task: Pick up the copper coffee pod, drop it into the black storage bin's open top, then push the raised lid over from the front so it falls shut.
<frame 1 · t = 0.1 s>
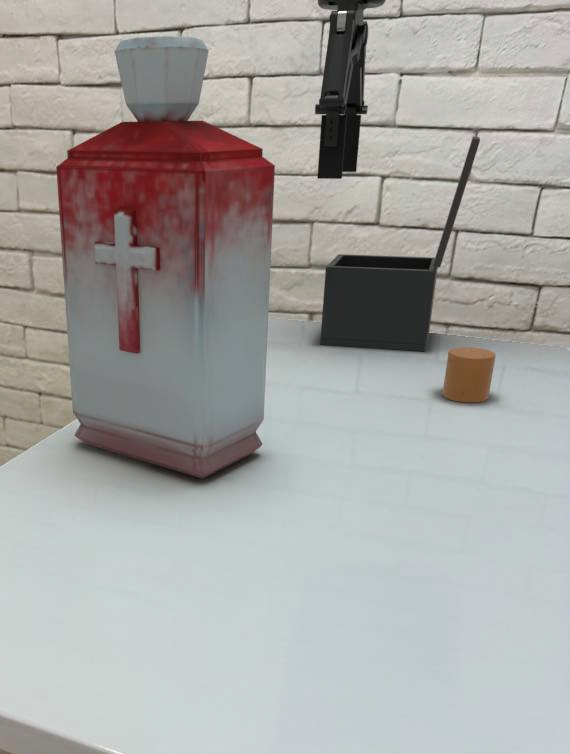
hand: (337, 175, 100), 19 cm above the table, tool pointing down, fingers open, 13 cm apart
bottle: (166, 451, 70), on the table
black storage bin: (375, 338, 104), on the table
lid: (456, 201, 95), point 16 cm above the table, hinge at 100.0°
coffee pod: (465, 396, 82), on the table
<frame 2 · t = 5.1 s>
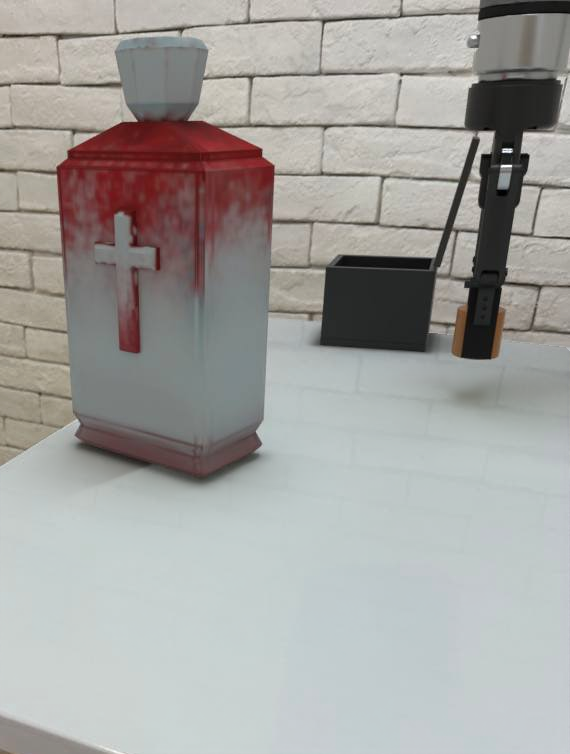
hand: (475, 350, 80), 5 cm above the table, tool pointing down, fingers closed on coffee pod, 4 cm apart
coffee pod: (474, 354, 80), point 4 cm above the table, touching gripper
everything else where it was.
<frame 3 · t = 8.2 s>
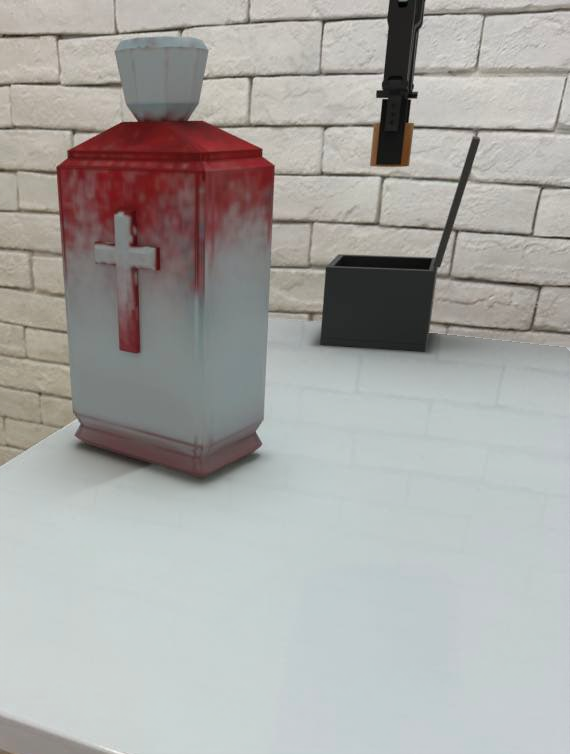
hand: (390, 162, 94), 20 cm above the table, tool pointing down, fingers closed on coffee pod, 4 cm apart
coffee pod: (389, 165, 94), point 20 cm above the table, touching gripper
everything else where it was.
when the fingers open (10 cm above the table, at t = 11.2 s): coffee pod drops 9 cm, resting on black storage bin.
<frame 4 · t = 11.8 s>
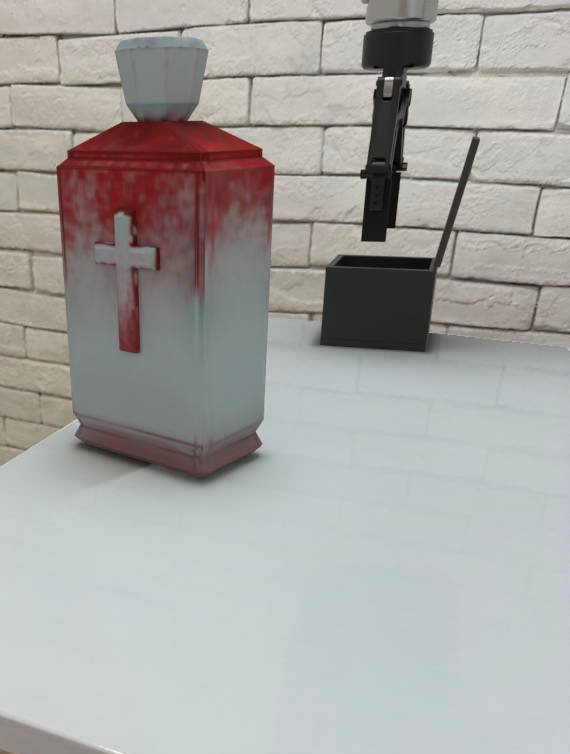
hand: (379, 234, 99), 12 cm above the table, tool pointing down, fingers open, 13 cm apart
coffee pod: (368, 331, 104), point 1 cm above the table, touching black storage bin
everything else where it was.
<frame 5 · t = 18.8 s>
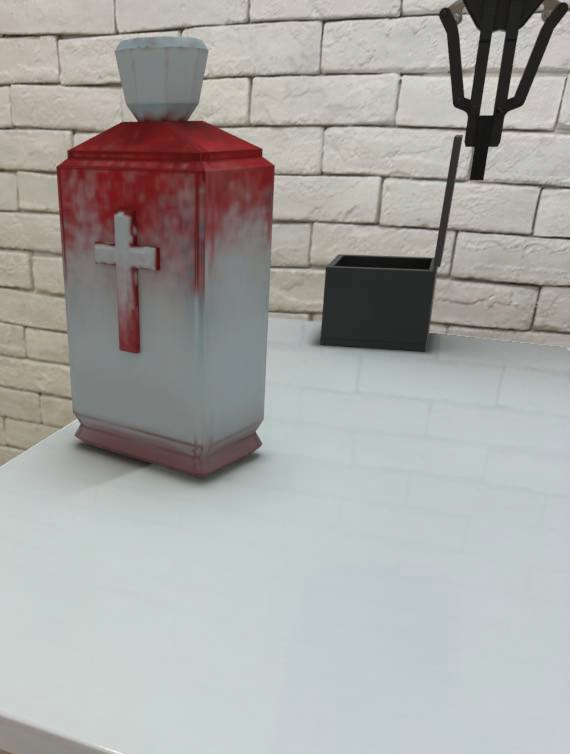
hand: (476, 179, 93), 19 cm above the table, tool pointing down, fingers closed
lid: (448, 199, 95), point 16 cm above the table, hinge at 91.7°, touching gripper
everything else where it was.
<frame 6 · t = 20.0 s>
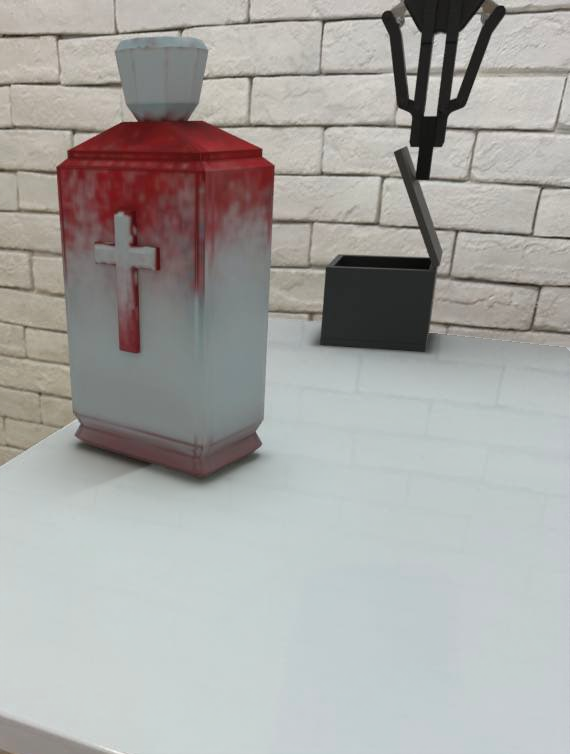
hand: (422, 178, 95), 19 cm above the table, tool pointing down, fingers closed
lid: (419, 205, 96), point 16 cm above the table, hinge at 64.3°, touching gripper
everything else where it was.
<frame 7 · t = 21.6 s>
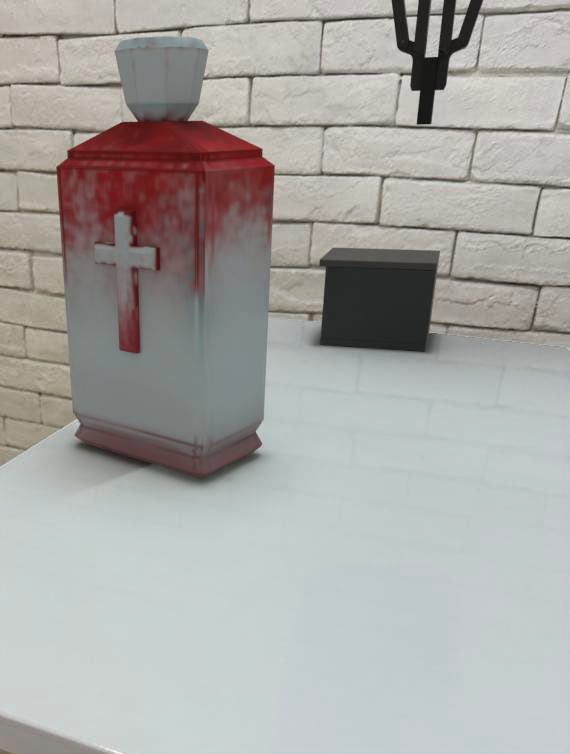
hand: (423, 124, 92), 24 cm above the table, tool pointing down, fingers closed
lid: (381, 258, 100), point 10 cm above the table, hinge at -0.2°
everything else where it was.
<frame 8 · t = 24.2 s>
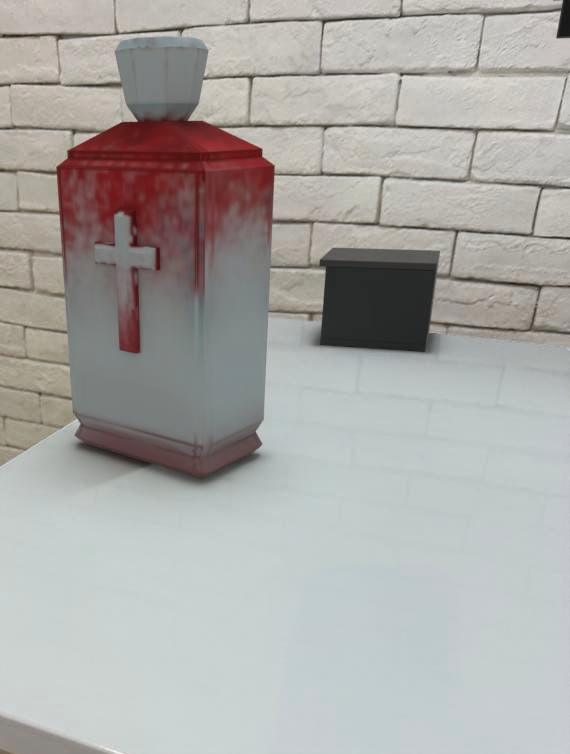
hand: (564, 36, 86), 32 cm above the table, tool pointing down, fingers closed
nothing on the table moved.
at the end: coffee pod inside the target area in the black storage bin (1.0 cm from its centre), point 0.8 cm above the black storage bin's base; lid at +0° (first picture: +100°) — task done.
